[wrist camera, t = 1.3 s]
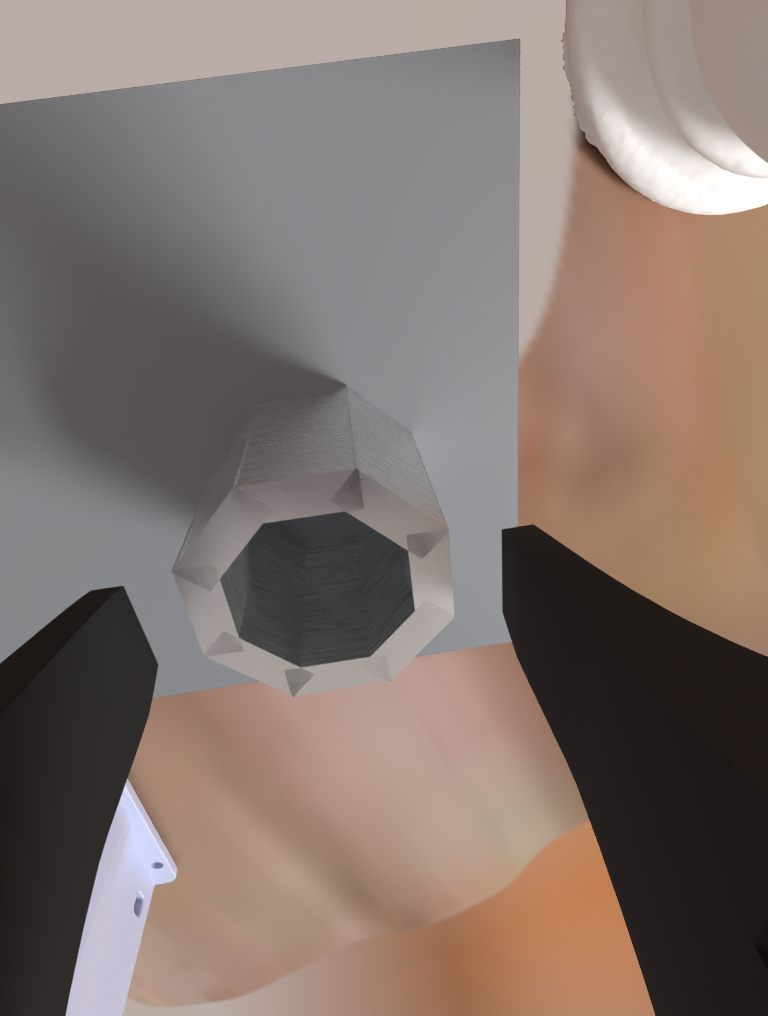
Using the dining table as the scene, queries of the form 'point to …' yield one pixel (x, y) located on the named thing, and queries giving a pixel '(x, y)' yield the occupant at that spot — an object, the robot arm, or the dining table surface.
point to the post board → (252, 315)
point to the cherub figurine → (675, 96)
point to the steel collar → (317, 548)
